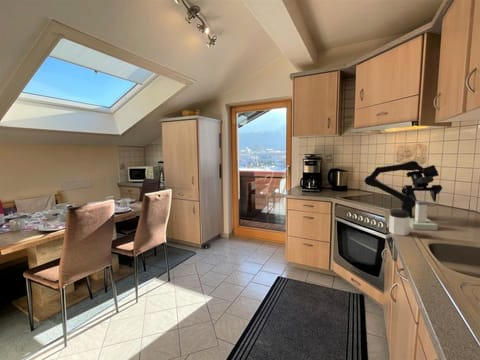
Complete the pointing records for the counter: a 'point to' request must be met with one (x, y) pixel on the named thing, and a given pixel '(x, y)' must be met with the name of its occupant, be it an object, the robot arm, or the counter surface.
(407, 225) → the jar
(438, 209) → the counter surface
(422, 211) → the plug
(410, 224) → the socket
